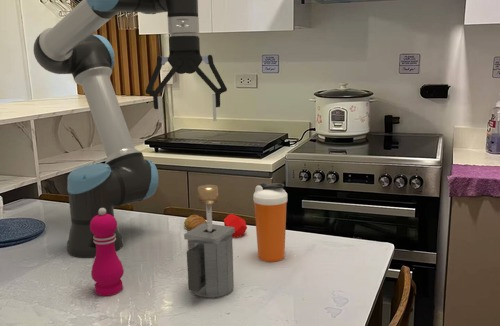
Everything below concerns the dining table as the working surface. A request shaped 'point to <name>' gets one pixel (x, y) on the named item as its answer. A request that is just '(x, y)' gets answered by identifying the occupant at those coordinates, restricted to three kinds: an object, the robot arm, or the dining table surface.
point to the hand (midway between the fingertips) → (188, 121)
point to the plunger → (208, 201)
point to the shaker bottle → (270, 220)
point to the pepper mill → (106, 255)
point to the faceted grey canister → (210, 261)
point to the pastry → (193, 222)
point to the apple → (236, 224)
